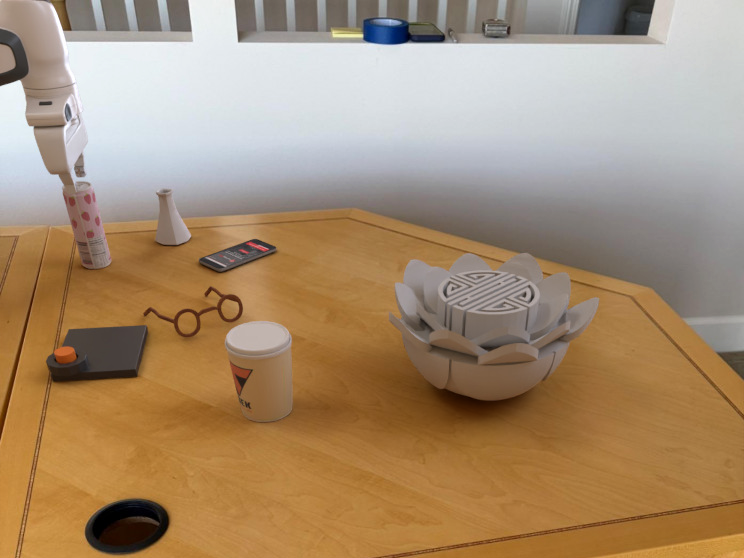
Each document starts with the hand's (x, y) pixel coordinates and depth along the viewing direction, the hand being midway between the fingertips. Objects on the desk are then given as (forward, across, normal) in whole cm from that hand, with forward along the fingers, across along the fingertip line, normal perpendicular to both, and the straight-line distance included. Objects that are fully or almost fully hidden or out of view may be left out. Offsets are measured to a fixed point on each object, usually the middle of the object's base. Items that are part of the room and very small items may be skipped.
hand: (77, 184), depth 145 cm
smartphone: (+16, 0, +28) cm, 32 cm away
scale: (+15, +38, +7) cm, 42 cm away
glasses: (+16, +26, +21) cm, 37 cm away
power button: (+13, +44, +3) cm, 45 cm away
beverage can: (+15, 0, 0) cm, 15 cm away
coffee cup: (+16, +57, +34) cm, 68 cm away
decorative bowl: (+16, +52, +67) cm, 86 cm away
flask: (+16, -11, +14) cm, 23 cm away
